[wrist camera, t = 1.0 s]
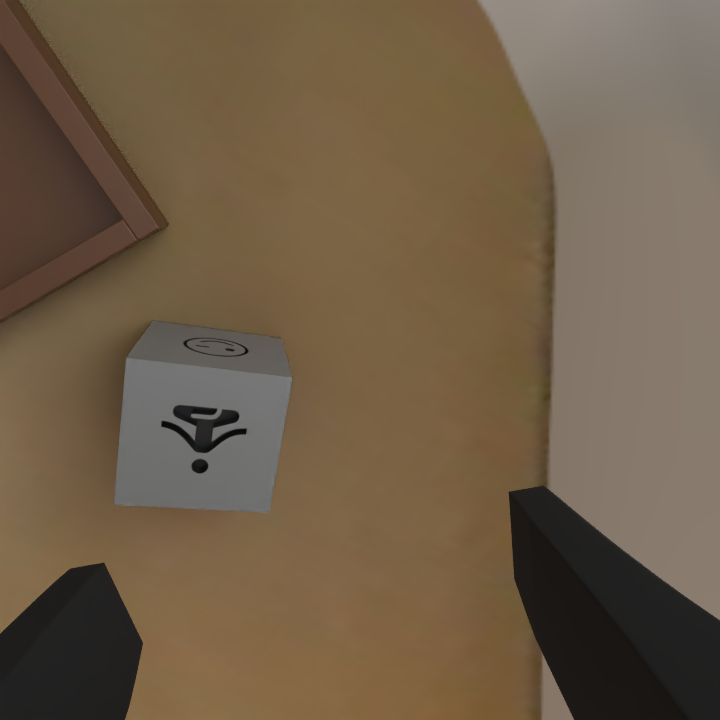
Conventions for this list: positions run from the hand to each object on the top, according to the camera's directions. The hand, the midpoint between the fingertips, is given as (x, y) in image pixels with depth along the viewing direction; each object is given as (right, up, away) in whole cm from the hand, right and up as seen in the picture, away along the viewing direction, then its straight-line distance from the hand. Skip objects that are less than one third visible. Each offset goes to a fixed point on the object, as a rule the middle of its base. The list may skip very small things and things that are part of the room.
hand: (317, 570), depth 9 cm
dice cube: (-5, +3, +12) cm, 14 cm away
